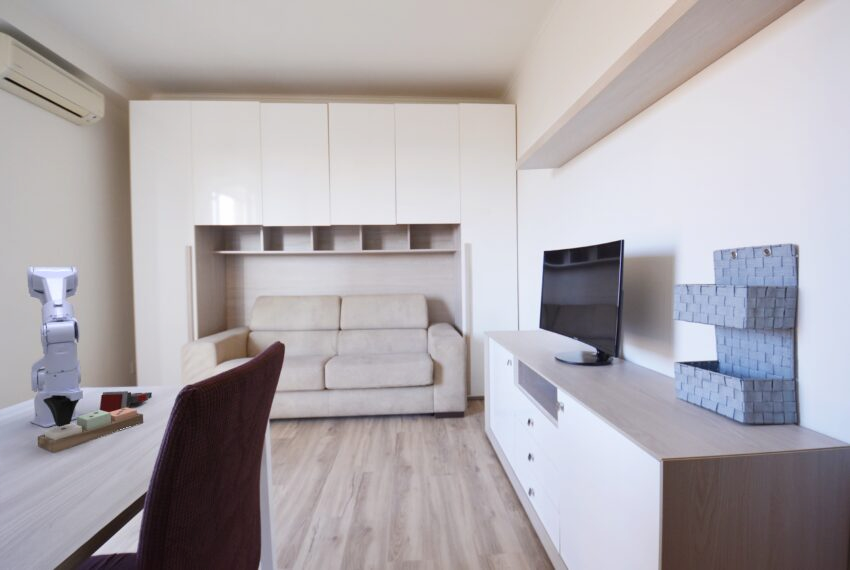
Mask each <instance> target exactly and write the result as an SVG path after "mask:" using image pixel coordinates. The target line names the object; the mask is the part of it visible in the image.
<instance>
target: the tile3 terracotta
mask: <svg viewBox="0 0 850 570" xmlns="http://www.w3.org/2000/svg"><path fill="white" fill-rule="evenodd" d="M109 413H111V421H114V422H116V421H119V420H122V419H125V418H128V417H131V416H135V415H137V413H138V412H137V409H134V408H130V407H128V408H127V407H126V408H123V409H119V410H116V411H112V412H109Z"/></svg>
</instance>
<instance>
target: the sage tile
mask: <svg viewBox="0 0 850 570" xmlns="http://www.w3.org/2000/svg"><path fill="white" fill-rule="evenodd" d="M80 415H81V416H78V417H77V419H76V425H79V426H82V430H86V431H87V430H90V429H93V428H97V427H100V426H103V425H106V424H109V423H111V413H109V412H105V411H102V410H100V409H98V410H95V411H92V412H88V413H85V414H80Z"/></svg>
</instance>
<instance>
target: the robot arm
mask: <svg viewBox="0 0 850 570" xmlns="http://www.w3.org/2000/svg"><path fill="white" fill-rule="evenodd" d="M26 271H27V272H26V273H27V287H28V294H29V295H30V297H31V298H35V299H38V300H39V301H40V304H41V305H42V306H41V320H42V321H41V322H42V323H41V324H42V325H41V326H40V343H41V346H42V353H43V357H41V358H39V359H37V361H35V362H34V363H32V365H31V371H30V378H31V380H30V381H31V383H30V384H31V391H33V393H37V394H36V395H35V397H34V399H33V403H34V406H33V407H34V419H31V420H29V422H30V423H33V424H34V425H38V426H41V427H43V428H49V427H52V426H56V427H61V426H64V425H68V424H71V422H72V421H74V420H77V417H78V416H81V415H82V414H79V413H76V407H77V405H78V403H79V401H80V400H81V399H84V395H83V394H84V391H83V390H82V389H81V387H80V384H81V381H82V372H81V371H82V370H81V365H80V359H78V344H79V342H80V341H79V340H80V335H81V334H80V325H79V322H78V320H77V318H76V317H75V314H74V313H75V311H74V306H73V304H72V303H71V302H69V301H67V299H68V298H71V297H73V296H75V295H76V292H77V288H78V286H79V274H78V272H79V271H78V268H76V267H75V266H28V267H27V269H26ZM75 340H76V342H75Z"/></svg>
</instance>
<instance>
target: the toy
mask: <svg viewBox="0 0 850 570" xmlns="http://www.w3.org/2000/svg"><path fill="white" fill-rule="evenodd" d="M100 396H101V397H100V403H99V405H100V406H99V410H102V411H105V412H112V411H116V410H119V409H123V408H126V407H127V408H130V407H131V403H132V404H133V403H140V402H144V401H145V402H146V400H149V399H151V398H152V396H153V394H152V392H151V391H150V392H135V393H134V392H133V393H132V392H131V391H130V392H128V390H126V391H125V390H124V391H121V390H120V391H119V390H118V391H104V392H102V394H101V395H100ZM150 397H151V398H150ZM148 398H149V399H148Z"/></svg>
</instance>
